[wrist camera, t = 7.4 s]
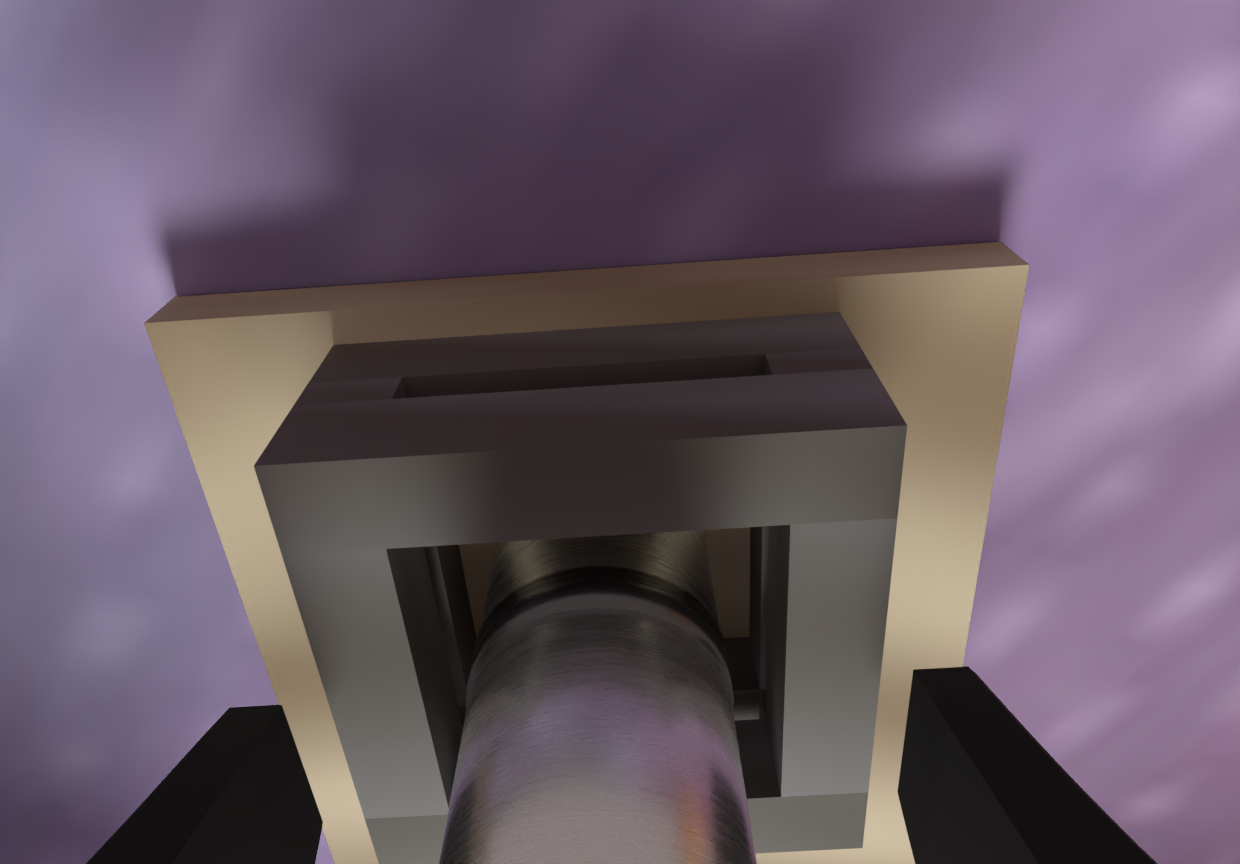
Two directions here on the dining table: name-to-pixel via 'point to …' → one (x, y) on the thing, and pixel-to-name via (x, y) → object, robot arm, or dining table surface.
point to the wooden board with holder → (608, 500)
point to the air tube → (600, 711)
